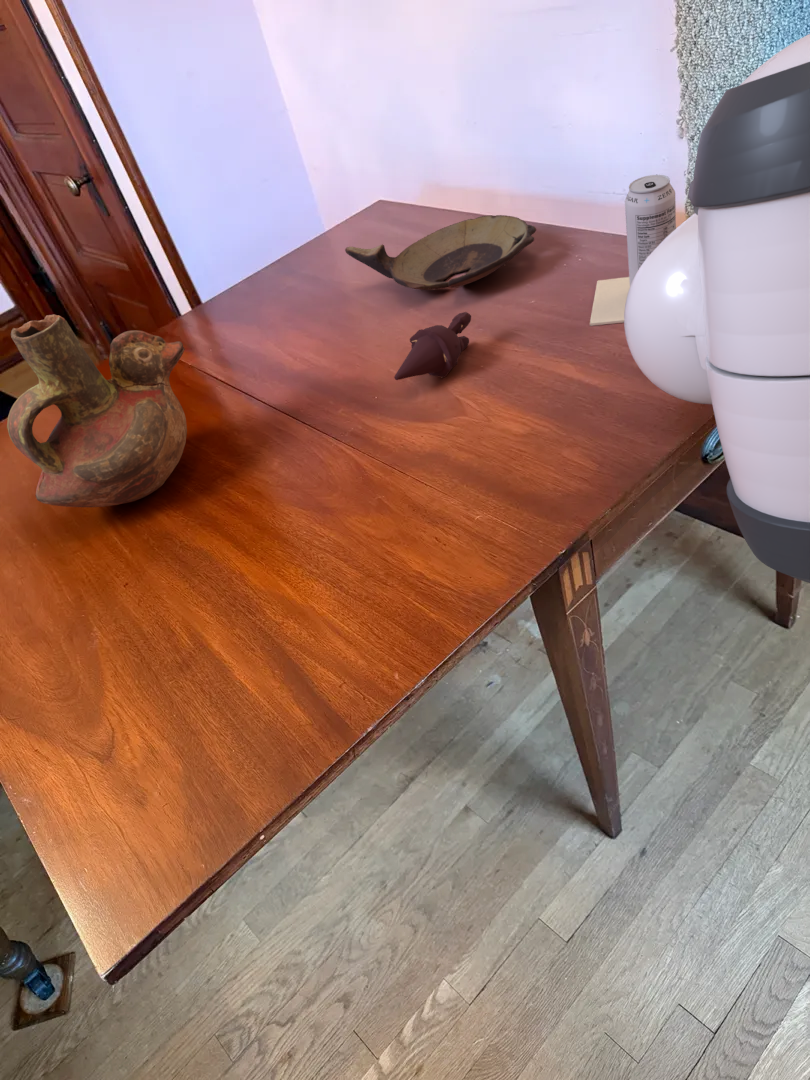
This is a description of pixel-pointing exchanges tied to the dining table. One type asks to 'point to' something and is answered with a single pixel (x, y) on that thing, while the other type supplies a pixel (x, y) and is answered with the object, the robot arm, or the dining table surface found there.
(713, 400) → the robot arm
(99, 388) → the ceramic vessel
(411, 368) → the maroon pointed figurine
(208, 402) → the dining table surface
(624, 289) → the beige rectangular board
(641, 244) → the energy drink can
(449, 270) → the olive ceramic shallow bowl
